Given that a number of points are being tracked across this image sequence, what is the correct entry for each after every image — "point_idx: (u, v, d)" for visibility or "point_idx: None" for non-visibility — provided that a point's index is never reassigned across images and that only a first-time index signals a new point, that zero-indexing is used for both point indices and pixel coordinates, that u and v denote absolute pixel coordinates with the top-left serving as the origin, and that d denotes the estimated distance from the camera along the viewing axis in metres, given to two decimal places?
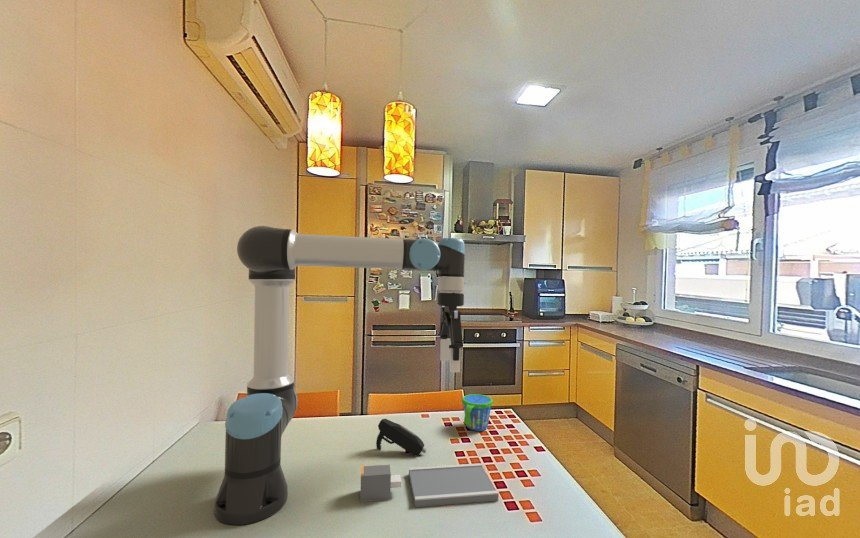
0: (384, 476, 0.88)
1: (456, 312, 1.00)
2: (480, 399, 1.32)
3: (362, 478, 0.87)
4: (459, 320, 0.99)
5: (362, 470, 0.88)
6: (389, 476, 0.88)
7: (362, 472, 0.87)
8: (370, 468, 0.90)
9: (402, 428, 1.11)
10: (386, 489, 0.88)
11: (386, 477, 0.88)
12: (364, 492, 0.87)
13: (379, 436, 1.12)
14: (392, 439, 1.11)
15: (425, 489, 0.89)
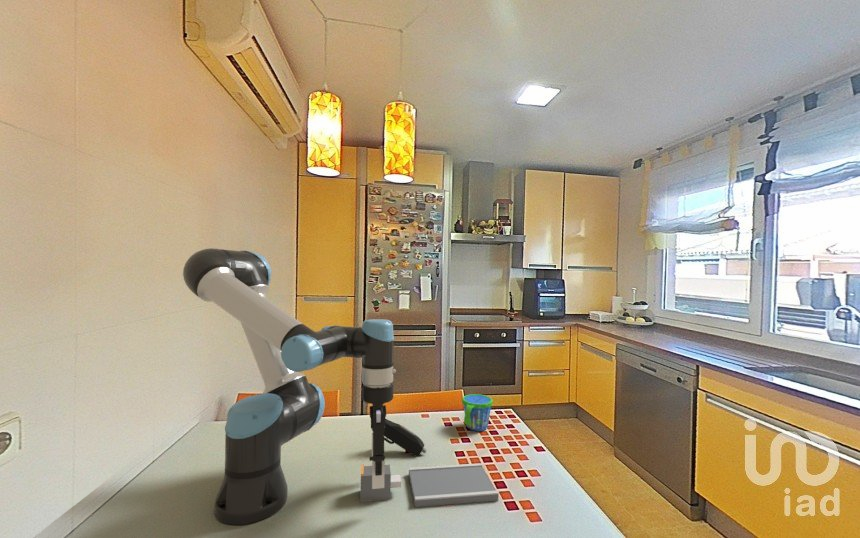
0: (384, 476, 0.88)
1: (378, 415, 0.83)
2: (480, 399, 1.32)
3: (362, 478, 0.87)
4: (382, 425, 0.83)
5: (362, 470, 0.88)
6: (389, 476, 0.88)
7: (362, 472, 0.87)
8: (370, 468, 0.91)
9: (402, 428, 1.11)
10: (386, 489, 0.88)
11: (386, 477, 0.88)
12: (364, 492, 0.87)
13: None
14: (392, 439, 1.11)
15: (425, 489, 0.89)
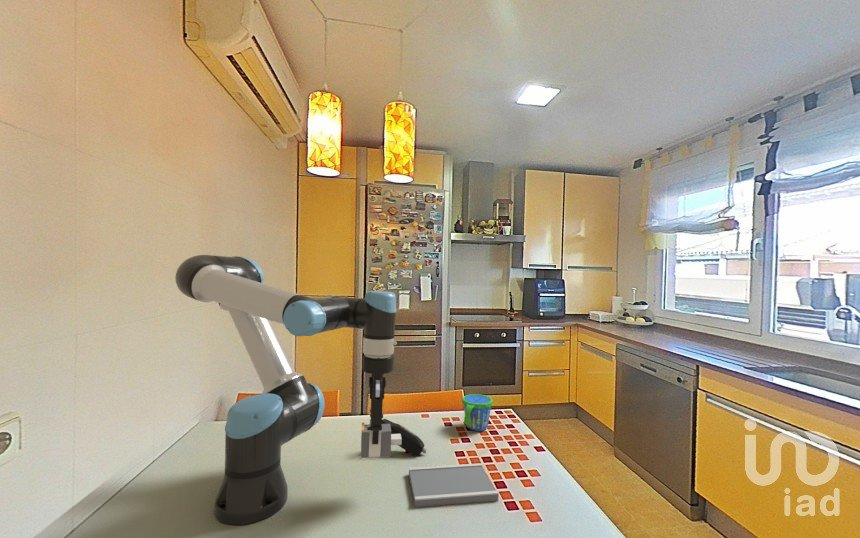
0: (384, 433, 0.88)
1: (378, 392, 0.84)
2: (480, 399, 1.32)
3: (363, 434, 0.87)
4: (381, 400, 0.84)
5: (363, 427, 0.89)
6: (390, 433, 0.88)
7: (363, 429, 0.88)
8: None
9: (402, 428, 1.11)
10: (386, 446, 0.88)
11: (387, 434, 0.88)
12: (364, 449, 0.87)
13: None
14: None
15: (425, 489, 0.89)
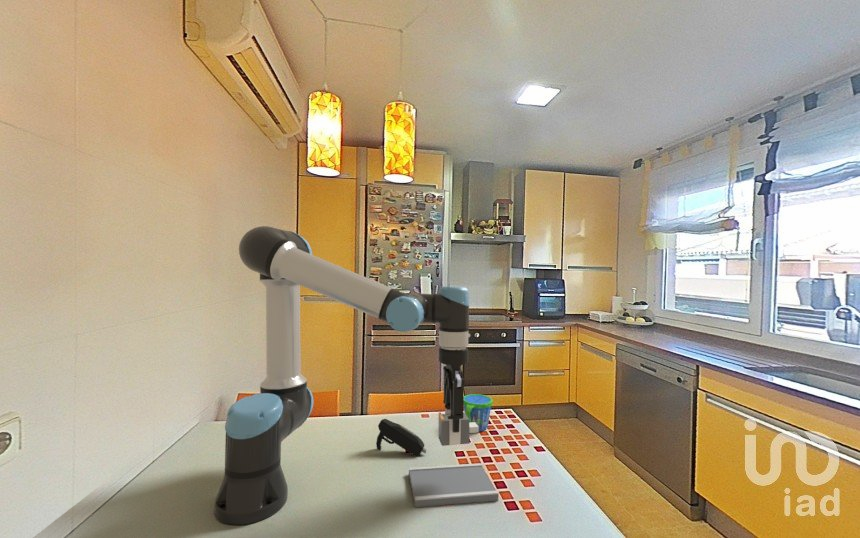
0: (463, 421, 0.92)
1: (459, 382, 0.87)
2: (480, 399, 1.32)
3: (443, 423, 0.91)
4: (462, 389, 0.88)
5: (441, 416, 0.93)
6: (468, 421, 0.92)
7: (442, 418, 0.92)
8: (447, 415, 0.95)
9: (402, 428, 1.11)
10: (465, 434, 0.92)
11: (465, 422, 0.92)
12: (445, 437, 0.91)
13: (379, 436, 1.12)
14: (392, 439, 1.10)
15: (425, 489, 0.89)
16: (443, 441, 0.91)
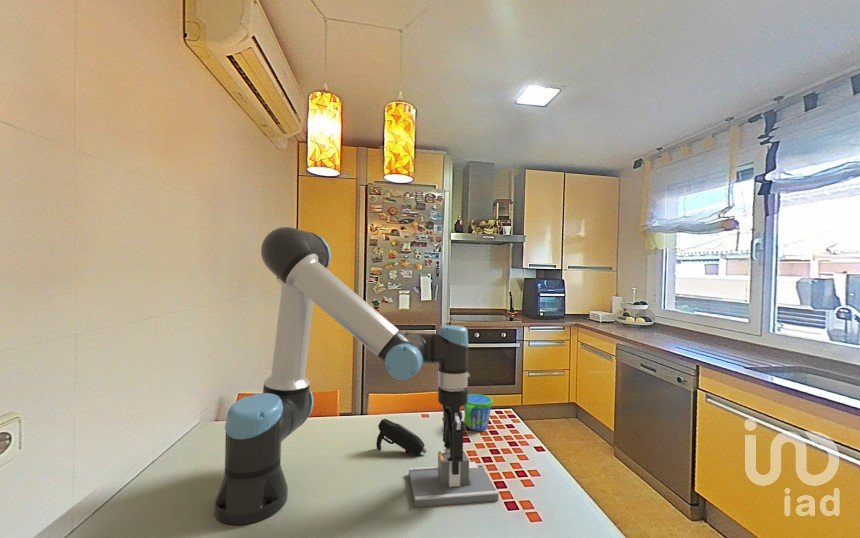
0: (463, 462, 0.92)
1: (459, 425, 0.87)
2: (480, 399, 1.32)
3: (443, 464, 0.91)
4: (461, 432, 0.88)
5: (441, 456, 0.92)
6: (467, 462, 0.92)
7: (442, 458, 0.92)
8: (447, 454, 0.95)
9: (402, 428, 1.11)
10: (464, 475, 0.92)
11: (465, 463, 0.92)
12: (444, 478, 0.91)
13: (379, 436, 1.12)
14: (392, 439, 1.11)
15: (425, 489, 0.89)
16: (442, 482, 0.91)
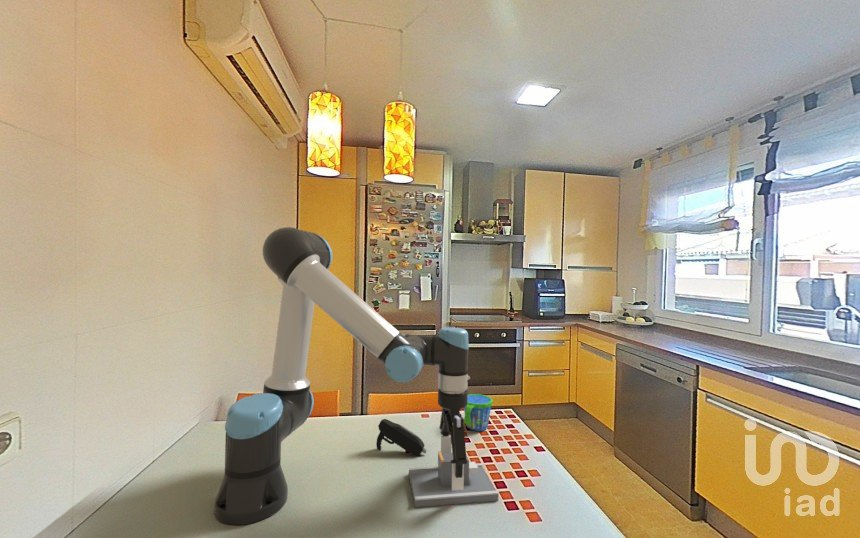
0: None
1: (459, 421, 0.87)
2: (480, 399, 1.32)
3: (443, 464, 0.91)
4: (462, 430, 0.87)
5: (441, 457, 0.92)
6: (467, 462, 0.92)
7: (442, 458, 0.92)
8: (447, 454, 0.95)
9: (402, 428, 1.11)
10: (464, 475, 0.92)
11: (465, 464, 0.92)
12: (444, 478, 0.91)
13: (379, 436, 1.12)
14: (392, 439, 1.10)
15: (425, 489, 0.89)
16: (442, 482, 0.91)
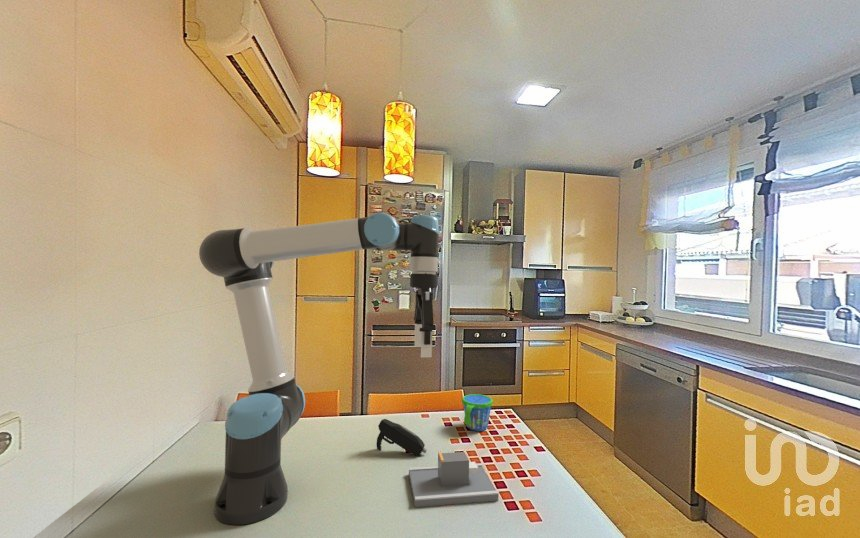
0: (463, 462, 0.92)
1: (427, 294, 0.93)
2: (480, 399, 1.32)
3: (443, 464, 0.91)
4: (431, 302, 0.93)
5: (441, 457, 0.92)
6: (467, 462, 0.92)
7: (442, 458, 0.92)
8: (447, 454, 0.95)
9: (402, 428, 1.11)
10: (464, 475, 0.92)
11: (465, 464, 0.92)
12: (444, 478, 0.91)
13: (379, 436, 1.12)
14: (392, 439, 1.10)
15: (425, 489, 0.89)
16: (442, 482, 0.91)
